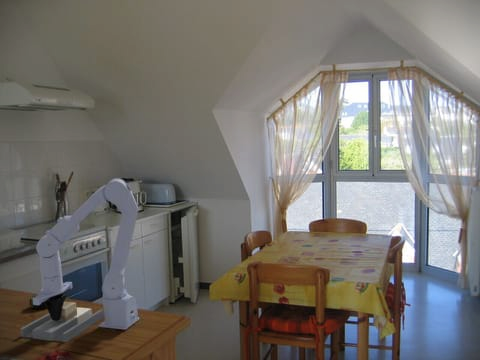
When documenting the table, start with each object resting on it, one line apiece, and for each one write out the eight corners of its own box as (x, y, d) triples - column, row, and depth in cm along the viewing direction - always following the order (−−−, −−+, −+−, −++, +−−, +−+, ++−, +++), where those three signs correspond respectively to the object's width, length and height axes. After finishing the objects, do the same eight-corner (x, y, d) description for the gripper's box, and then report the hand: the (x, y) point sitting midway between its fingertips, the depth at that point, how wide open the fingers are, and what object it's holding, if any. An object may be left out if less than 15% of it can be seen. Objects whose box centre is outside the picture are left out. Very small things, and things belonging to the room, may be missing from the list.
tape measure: (52, 307, 161) (51, 297, 161) (31, 312, 158) (30, 301, 158) (50, 301, 167) (49, 291, 167) (29, 306, 164) (28, 295, 164)
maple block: (77, 315, 146) (76, 302, 146) (66, 321, 142) (65, 308, 141) (64, 313, 148) (62, 301, 147) (52, 320, 143) (51, 307, 143)
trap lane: (104, 317, 150) (103, 309, 150) (65, 342, 133) (64, 334, 133) (62, 313, 155) (62, 305, 155) (20, 337, 138) (19, 328, 138)
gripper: (57, 267, 147) (61, 309, 149) (22, 282, 134) (27, 328, 135) (76, 268, 145) (80, 311, 147) (42, 284, 132) (47, 330, 133)
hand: (56, 319), depth 141 cm, fingers closed
